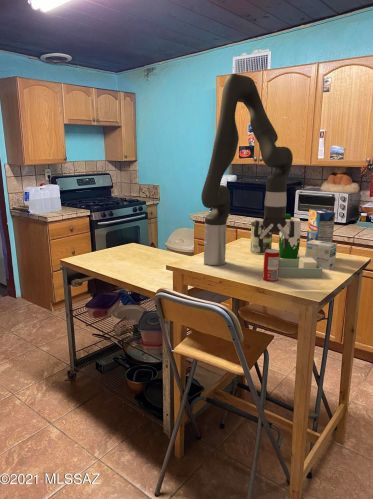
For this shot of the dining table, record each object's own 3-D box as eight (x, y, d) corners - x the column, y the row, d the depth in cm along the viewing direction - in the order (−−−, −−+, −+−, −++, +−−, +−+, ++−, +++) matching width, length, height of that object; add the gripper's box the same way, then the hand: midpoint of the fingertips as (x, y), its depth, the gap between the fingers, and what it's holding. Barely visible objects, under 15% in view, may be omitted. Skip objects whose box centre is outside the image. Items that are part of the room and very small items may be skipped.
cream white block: (302, 274, 151) (303, 262, 150) (298, 269, 158) (299, 257, 156) (315, 274, 151) (317, 262, 150) (310, 269, 158) (311, 257, 156)
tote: (276, 277, 148) (277, 268, 148) (270, 268, 161) (271, 258, 160) (321, 278, 148) (322, 268, 147) (311, 268, 161) (312, 259, 160)
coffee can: (272, 250, 190) (274, 222, 186) (270, 255, 180) (272, 225, 177) (251, 248, 193) (252, 220, 190) (248, 253, 184) (249, 224, 180)
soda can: (268, 277, 149) (270, 247, 146) (280, 281, 145) (283, 250, 142) (259, 280, 145) (261, 249, 142) (272, 284, 141) (274, 252, 138)
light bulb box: (335, 268, 162) (337, 243, 159) (328, 271, 157) (331, 245, 154) (310, 263, 169) (312, 239, 166) (303, 266, 164) (306, 241, 161)
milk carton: (277, 254, 182) (280, 212, 177) (297, 255, 180) (301, 213, 175) (278, 259, 173) (281, 215, 168) (299, 261, 172) (302, 216, 167)
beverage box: (315, 262, 170) (320, 212, 164) (305, 255, 180) (309, 209, 175) (330, 262, 171) (335, 212, 165) (319, 255, 181) (323, 208, 176)
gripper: (256, 205, 135) (254, 250, 139) (298, 205, 134) (295, 251, 138) (253, 203, 142) (252, 246, 146) (292, 203, 142) (290, 246, 145)
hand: (272, 248), depth 142 cm, fingers open, 8 cm apart
